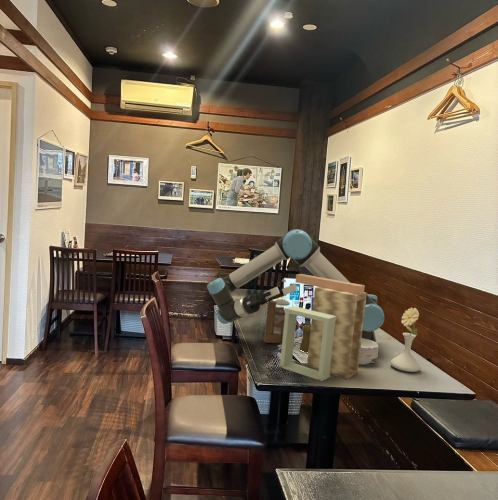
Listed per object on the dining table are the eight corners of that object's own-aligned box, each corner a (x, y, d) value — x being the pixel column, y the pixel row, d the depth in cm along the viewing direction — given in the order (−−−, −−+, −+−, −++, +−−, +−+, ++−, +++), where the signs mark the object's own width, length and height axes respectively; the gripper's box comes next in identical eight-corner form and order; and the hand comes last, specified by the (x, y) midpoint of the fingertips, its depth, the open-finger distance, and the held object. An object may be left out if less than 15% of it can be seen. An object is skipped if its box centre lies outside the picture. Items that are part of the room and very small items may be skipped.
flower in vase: (387, 362, 181) (394, 301, 179) (416, 365, 180) (423, 304, 178) (394, 374, 168) (402, 308, 166) (425, 377, 167) (434, 312, 165)
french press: (280, 327, 220) (285, 277, 218) (295, 334, 211) (301, 281, 208) (264, 328, 215) (269, 277, 213) (279, 335, 205) (284, 282, 203)
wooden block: (289, 344, 194) (293, 303, 192) (264, 342, 193) (268, 301, 191) (287, 341, 197) (291, 301, 196) (263, 340, 196) (267, 299, 195)
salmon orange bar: (295, 282, 173) (296, 274, 173) (300, 281, 176) (301, 273, 176) (359, 294, 158) (360, 286, 158) (363, 293, 161) (364, 285, 161)
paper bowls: (348, 352, 191) (350, 333, 190) (382, 362, 181) (385, 343, 180) (330, 359, 179) (333, 339, 178) (366, 370, 169) (368, 350, 169)
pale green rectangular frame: (279, 367, 165) (285, 308, 163) (287, 363, 170) (293, 306, 168) (322, 381, 155) (329, 318, 153) (329, 376, 160) (336, 316, 157)
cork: (310, 354, 183) (313, 327, 182) (296, 350, 186) (299, 324, 185) (316, 351, 188) (318, 325, 187) (303, 347, 191) (305, 322, 190)
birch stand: (306, 366, 168) (314, 287, 165) (318, 360, 176) (327, 285, 173) (346, 379, 159) (356, 295, 156) (357, 372, 167) (366, 292, 164)
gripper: (267, 310, 199) (306, 294, 187) (232, 318, 178) (273, 301, 167) (261, 294, 200) (299, 277, 188) (226, 300, 180) (266, 282, 168)
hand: (287, 288), depth 178 cm, fingers open, 13 cm apart
